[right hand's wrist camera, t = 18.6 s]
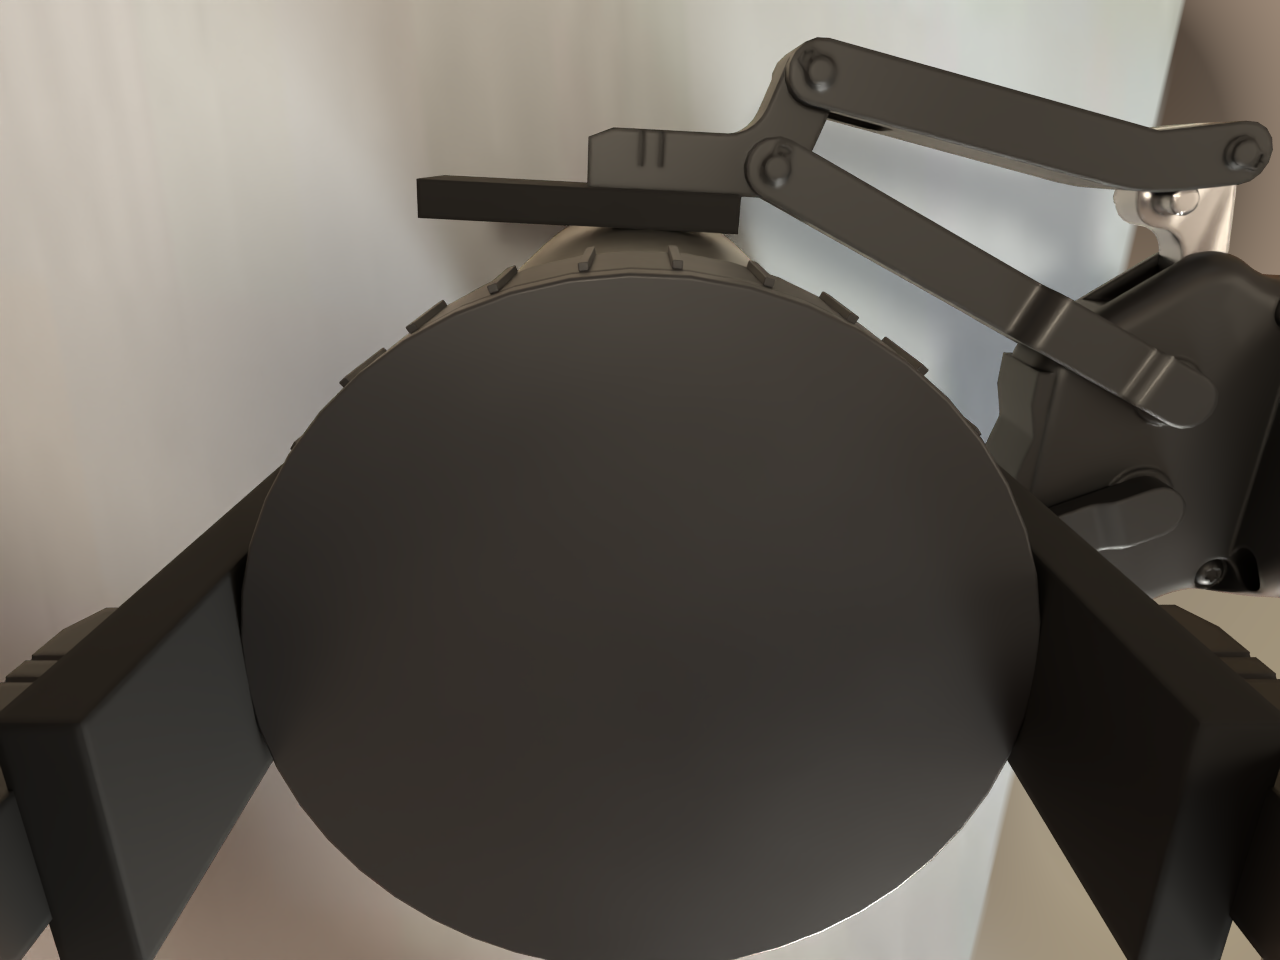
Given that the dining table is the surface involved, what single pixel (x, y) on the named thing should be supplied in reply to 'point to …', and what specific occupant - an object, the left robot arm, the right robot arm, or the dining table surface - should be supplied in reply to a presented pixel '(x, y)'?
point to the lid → (640, 613)
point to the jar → (635, 244)
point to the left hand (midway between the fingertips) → (439, 399)
